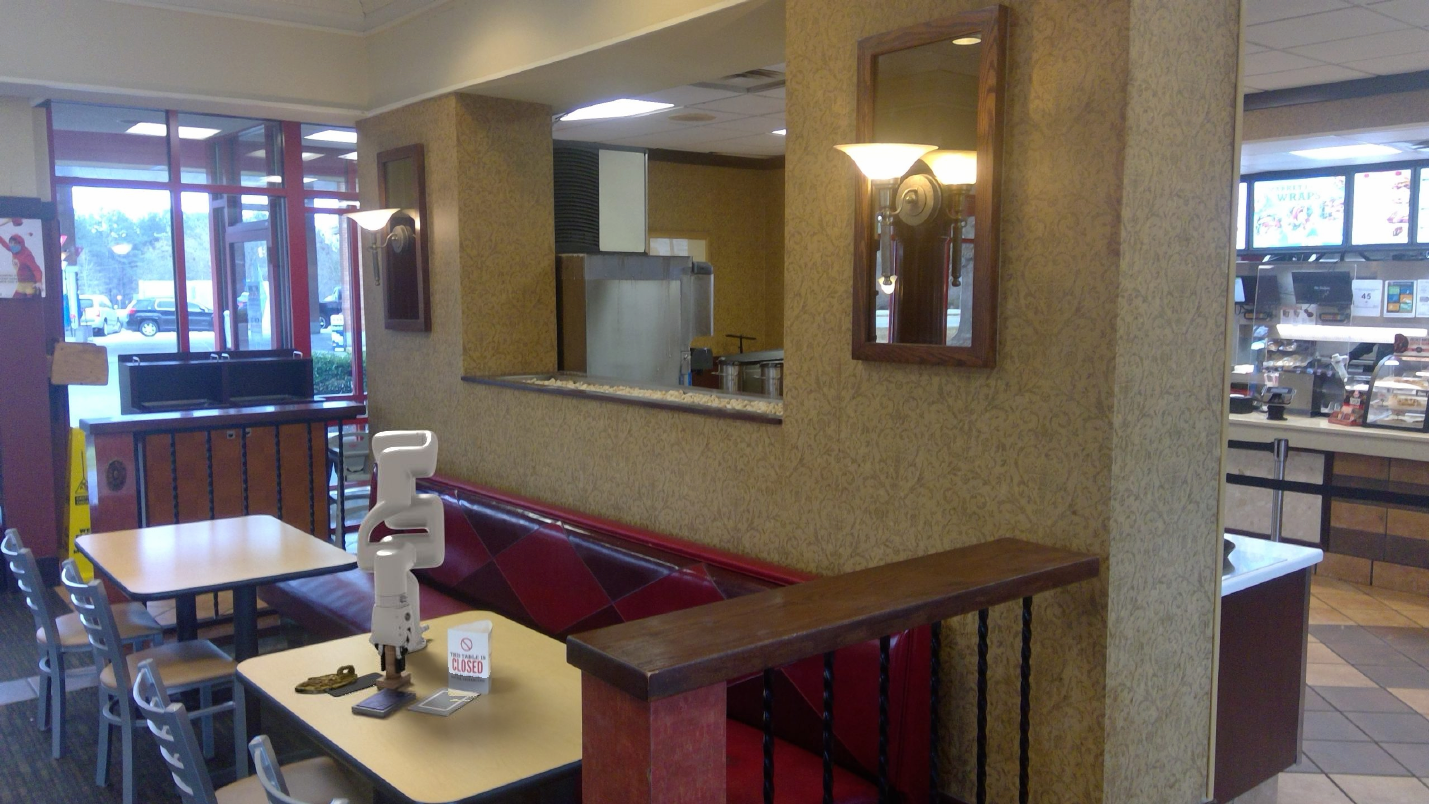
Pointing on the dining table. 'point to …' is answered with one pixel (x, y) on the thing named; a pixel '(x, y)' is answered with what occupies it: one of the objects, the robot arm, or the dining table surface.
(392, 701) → the ink pad
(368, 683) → the phone
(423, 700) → the stamp card
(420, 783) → the dining table surface
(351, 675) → the brass ornament
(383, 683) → the stamp
